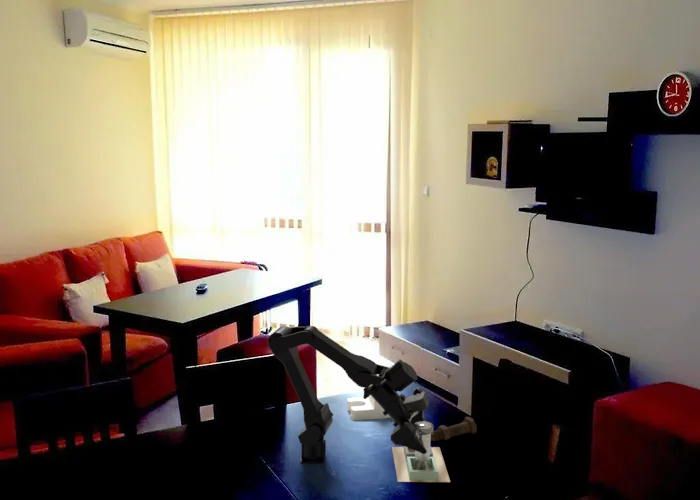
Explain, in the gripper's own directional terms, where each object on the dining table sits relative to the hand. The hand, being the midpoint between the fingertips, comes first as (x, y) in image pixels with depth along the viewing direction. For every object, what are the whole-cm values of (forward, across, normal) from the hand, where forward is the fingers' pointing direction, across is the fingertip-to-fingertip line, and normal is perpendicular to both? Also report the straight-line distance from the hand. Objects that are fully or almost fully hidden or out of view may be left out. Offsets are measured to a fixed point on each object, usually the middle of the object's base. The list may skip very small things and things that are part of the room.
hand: (428, 444), depth 169 cm
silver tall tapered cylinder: (+5, 0, +7) cm, 9 cm away
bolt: (+10, +24, +4) cm, 26 cm away
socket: (+6, 0, +8) cm, 10 cm away
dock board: (+5, +4, +9) cm, 11 cm away
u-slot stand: (-8, +33, +23) cm, 41 cm away
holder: (+4, +9, +10) cm, 13 cm away
